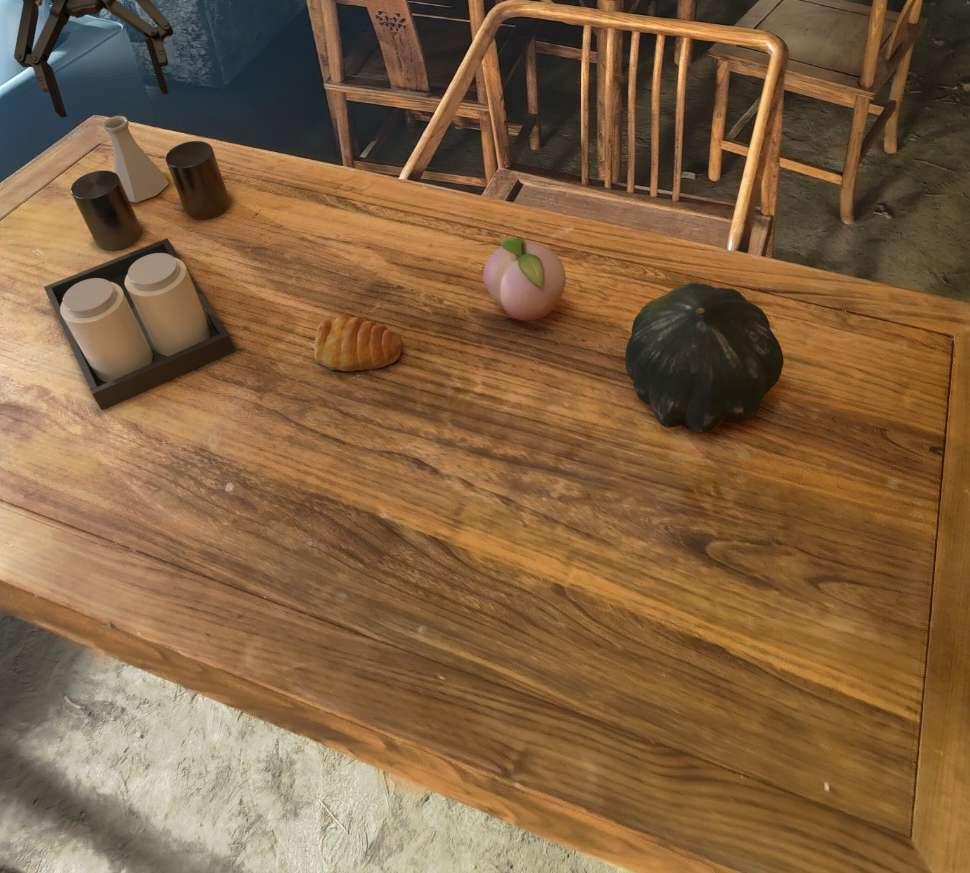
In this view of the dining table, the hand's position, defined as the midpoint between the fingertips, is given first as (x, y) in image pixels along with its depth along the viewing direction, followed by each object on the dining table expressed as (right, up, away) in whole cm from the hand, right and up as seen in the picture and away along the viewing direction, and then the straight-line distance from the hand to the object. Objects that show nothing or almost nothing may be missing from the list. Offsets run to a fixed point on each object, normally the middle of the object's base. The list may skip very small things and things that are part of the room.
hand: (113, 102), depth 123 cm
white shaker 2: (+15, -33, -17) cm, 40 cm away
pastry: (+35, -35, -20) cm, 53 cm away
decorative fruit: (+54, -31, -18) cm, 65 cm away
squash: (+71, -41, -28) cm, 87 cm away
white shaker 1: (+9, -36, -19) cm, 42 cm away
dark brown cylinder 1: (+2, -18, -2) cm, 19 cm away
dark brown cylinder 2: (+12, -14, 0) cm, 19 cm away
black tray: (+9, -31, -14) cm, 36 cm away
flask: (+2, -10, +5) cm, 11 cm away
